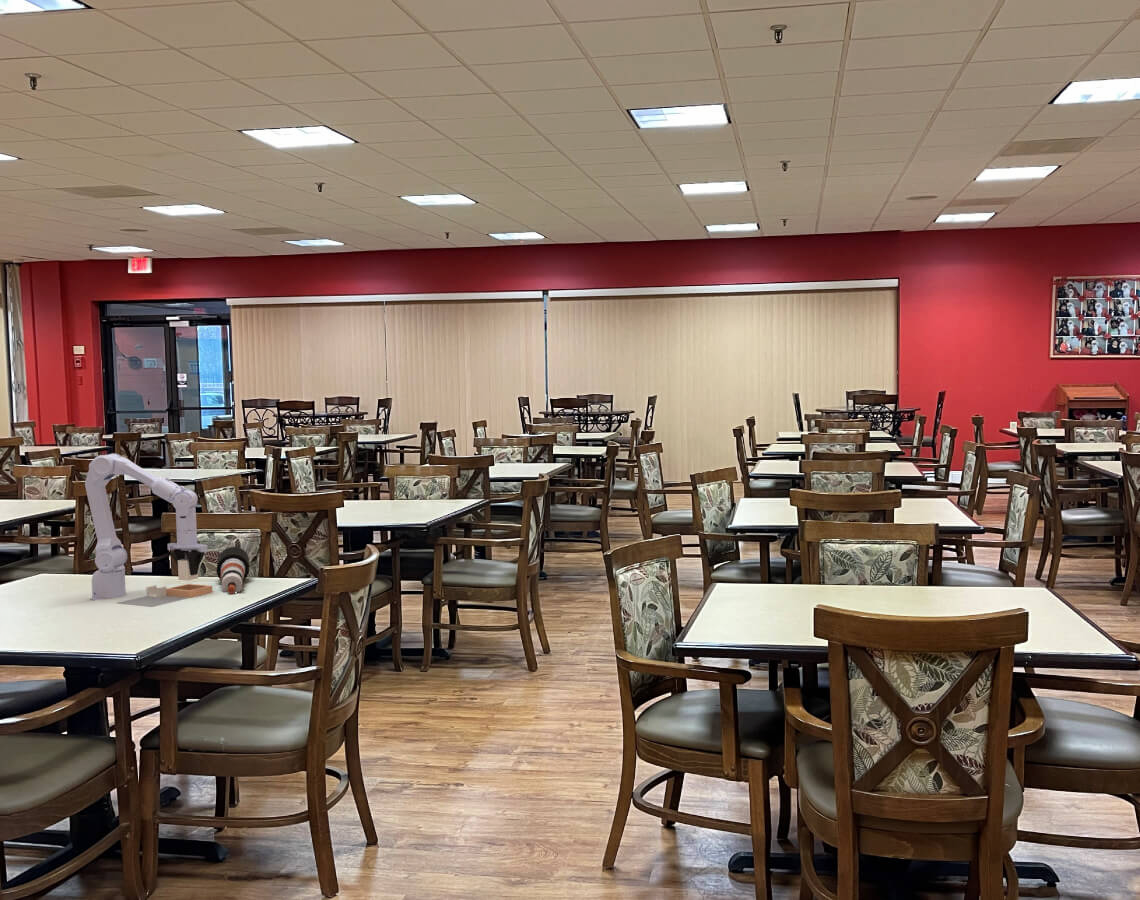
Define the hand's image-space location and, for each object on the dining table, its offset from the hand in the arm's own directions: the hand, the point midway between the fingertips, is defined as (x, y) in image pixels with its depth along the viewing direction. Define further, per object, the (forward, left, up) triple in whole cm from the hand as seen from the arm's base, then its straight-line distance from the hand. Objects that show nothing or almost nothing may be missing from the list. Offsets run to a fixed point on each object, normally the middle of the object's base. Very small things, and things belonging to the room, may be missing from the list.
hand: (188, 574), depth 312 cm
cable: (+1, +17, -7) cm, 18 cm away
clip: (-6, -7, -7) cm, 12 cm away
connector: (0, 0, -1) cm, 1 cm away
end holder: (0, 0, -7) cm, 7 cm away
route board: (-3, -7, -7) cm, 10 cm away
